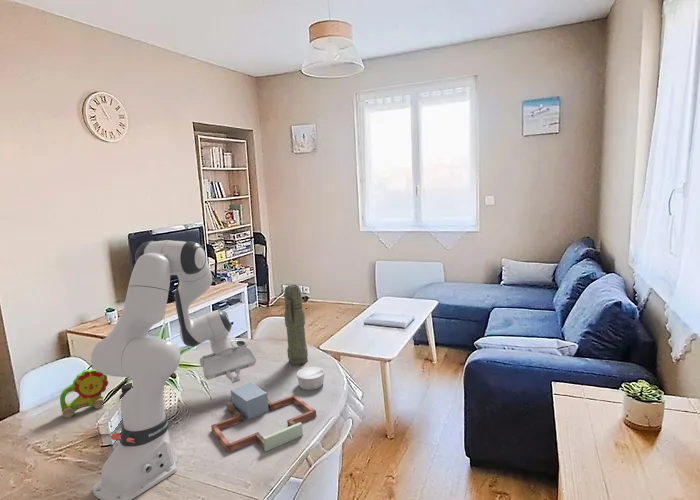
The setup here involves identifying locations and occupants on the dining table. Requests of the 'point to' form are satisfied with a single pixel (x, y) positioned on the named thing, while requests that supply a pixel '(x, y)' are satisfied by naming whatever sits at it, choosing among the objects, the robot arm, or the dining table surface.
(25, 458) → the dining table surface
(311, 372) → the ramekin
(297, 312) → the green carved statue
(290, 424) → the channel
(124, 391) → the supplement bottle
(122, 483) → the robot arm
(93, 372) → the toy lion
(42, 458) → the dining table surface
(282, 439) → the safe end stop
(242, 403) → the slate block
